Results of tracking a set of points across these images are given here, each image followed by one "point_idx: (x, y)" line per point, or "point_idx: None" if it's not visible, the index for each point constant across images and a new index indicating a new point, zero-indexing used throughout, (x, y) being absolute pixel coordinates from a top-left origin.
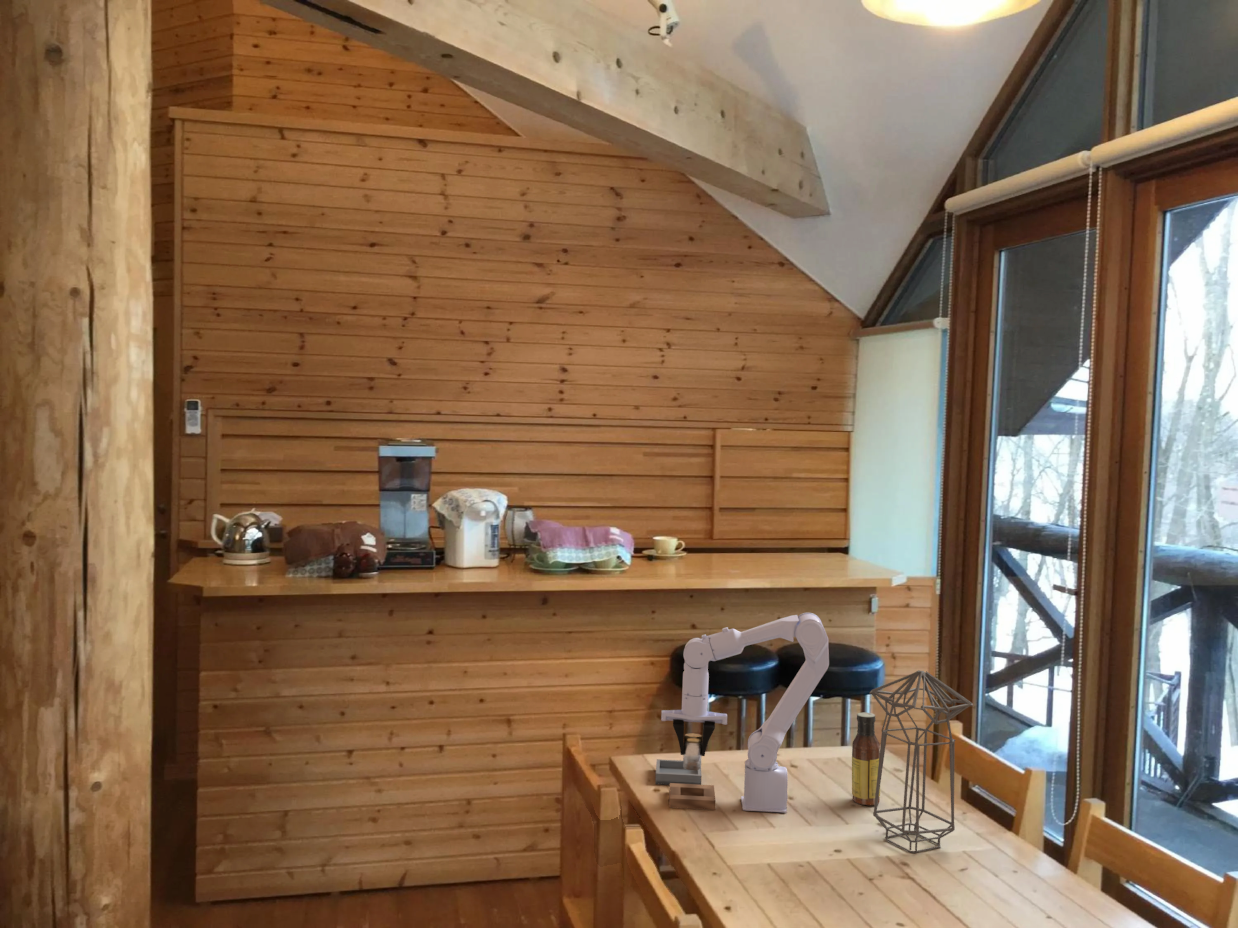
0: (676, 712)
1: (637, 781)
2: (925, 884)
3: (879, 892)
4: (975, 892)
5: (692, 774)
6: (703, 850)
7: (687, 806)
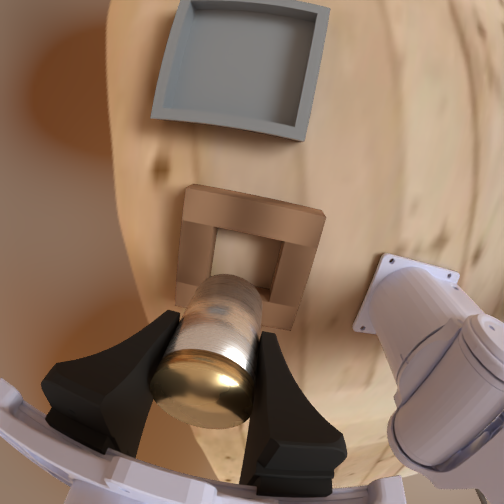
0: (53, 470)
1: (122, 104)
2: None
3: (367, 471)
4: None
5: (274, 125)
6: (224, 430)
7: None
